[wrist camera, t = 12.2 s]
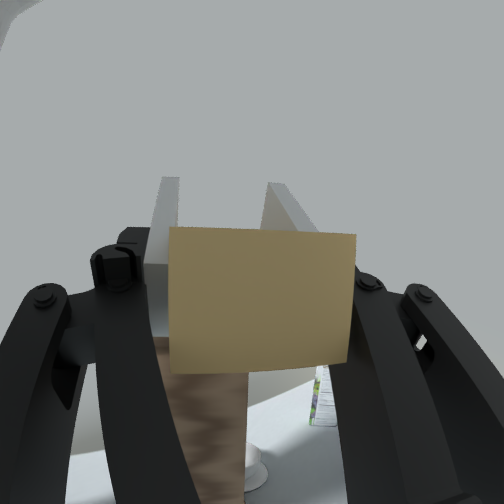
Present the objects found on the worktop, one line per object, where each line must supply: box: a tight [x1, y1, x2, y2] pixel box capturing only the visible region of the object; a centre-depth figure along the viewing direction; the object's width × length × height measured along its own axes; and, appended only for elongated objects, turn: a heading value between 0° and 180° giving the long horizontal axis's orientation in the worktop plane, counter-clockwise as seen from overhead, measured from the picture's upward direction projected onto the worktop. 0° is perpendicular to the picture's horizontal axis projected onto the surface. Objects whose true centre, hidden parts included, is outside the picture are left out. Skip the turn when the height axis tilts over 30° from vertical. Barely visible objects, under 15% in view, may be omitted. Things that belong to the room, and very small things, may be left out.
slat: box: [168, 227, 356, 374], centre depth 17 cm, size 4×22×3 cm, turn 13°
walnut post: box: [153, 337, 249, 504], centre depth 28 cm, size 12×12×29 cm
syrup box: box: [309, 365, 337, 426], centre depth 57 cm, size 6×6×14 cm
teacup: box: [244, 442, 268, 492], centre depth 40 cm, size 10×10×5 cm
